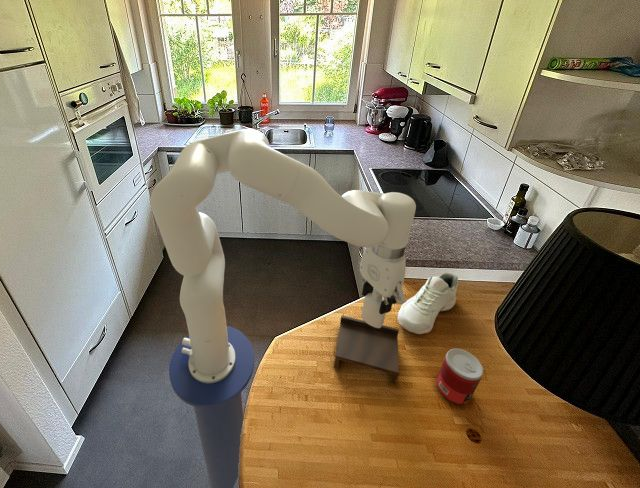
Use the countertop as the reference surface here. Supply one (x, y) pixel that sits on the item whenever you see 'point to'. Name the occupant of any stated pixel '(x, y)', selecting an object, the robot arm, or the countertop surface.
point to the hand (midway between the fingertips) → (375, 302)
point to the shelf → (368, 346)
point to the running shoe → (428, 303)
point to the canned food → (459, 376)
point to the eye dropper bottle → (373, 309)
